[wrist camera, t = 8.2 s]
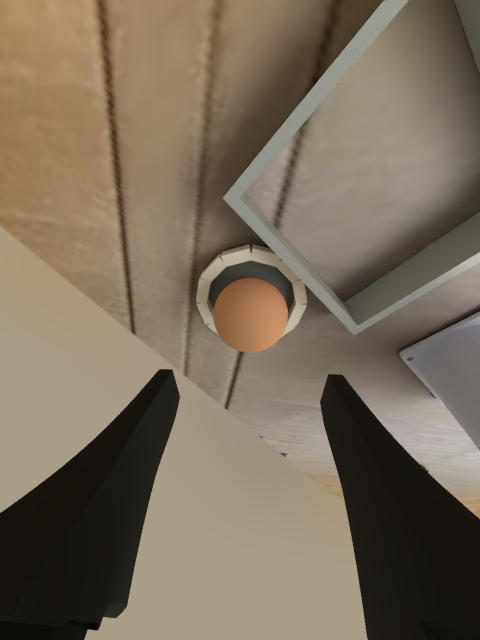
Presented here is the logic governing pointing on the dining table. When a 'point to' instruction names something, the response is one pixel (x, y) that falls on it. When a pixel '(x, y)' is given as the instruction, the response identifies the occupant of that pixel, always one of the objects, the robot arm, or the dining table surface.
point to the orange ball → (250, 315)
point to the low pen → (414, 274)
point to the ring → (250, 265)
